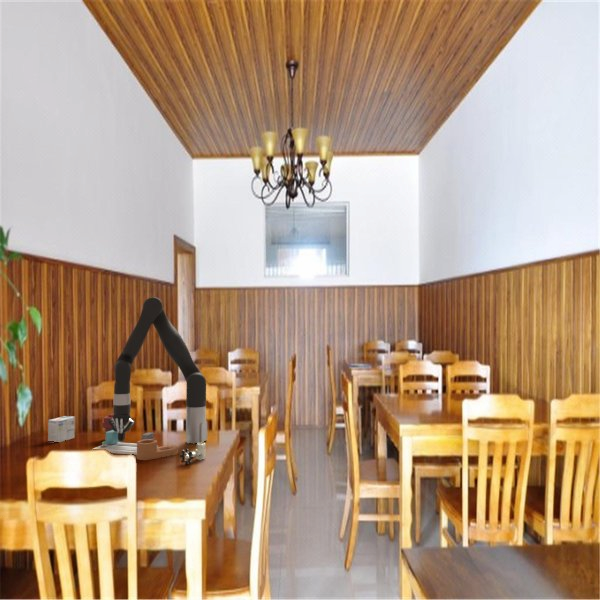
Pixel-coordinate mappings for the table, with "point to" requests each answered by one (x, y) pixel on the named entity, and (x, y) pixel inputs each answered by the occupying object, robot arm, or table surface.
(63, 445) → the table surface
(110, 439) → the sliding leg
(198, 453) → the valve
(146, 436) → the fixed leg
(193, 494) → the table surface
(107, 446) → the gauge board
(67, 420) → the light bulb box
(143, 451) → the bracket
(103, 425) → the mechanical component
